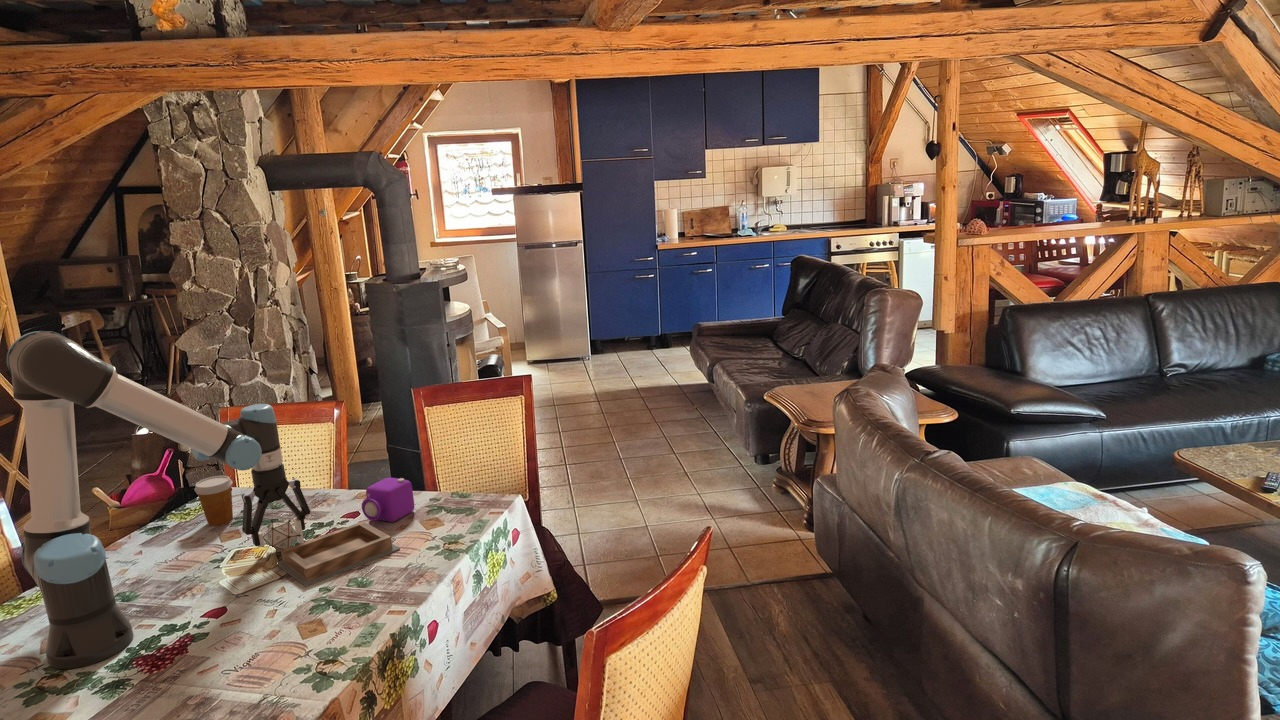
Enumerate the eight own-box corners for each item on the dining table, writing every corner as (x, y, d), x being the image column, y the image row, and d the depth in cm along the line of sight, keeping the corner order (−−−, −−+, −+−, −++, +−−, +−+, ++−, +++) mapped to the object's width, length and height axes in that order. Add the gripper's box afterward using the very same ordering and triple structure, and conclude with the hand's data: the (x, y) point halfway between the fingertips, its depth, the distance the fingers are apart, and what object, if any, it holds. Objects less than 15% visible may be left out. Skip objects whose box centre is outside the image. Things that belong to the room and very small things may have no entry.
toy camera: (357, 527, 227) (351, 492, 224) (386, 506, 239) (381, 473, 237) (392, 529, 223) (387, 494, 221) (419, 508, 236) (415, 475, 234)
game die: (292, 561, 217) (312, 527, 218) (274, 565, 209) (295, 529, 209) (265, 543, 219) (285, 509, 219) (246, 546, 210) (267, 510, 211)
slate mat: (305, 586, 195) (305, 585, 195) (275, 563, 208) (275, 562, 208) (400, 549, 211) (399, 548, 211) (366, 530, 224) (366, 529, 224)
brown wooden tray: (308, 582, 197) (305, 569, 196) (283, 563, 208) (280, 550, 207) (392, 549, 211) (390, 536, 210) (365, 533, 222) (363, 521, 221)
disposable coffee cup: (202, 519, 239) (194, 479, 236) (239, 511, 242) (231, 472, 240) (201, 531, 230) (192, 490, 227) (239, 523, 234) (231, 483, 231)
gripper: (226, 482, 200) (243, 569, 205) (316, 456, 214) (329, 538, 219) (216, 475, 205) (232, 560, 210) (303, 450, 219) (317, 530, 225)
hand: (282, 549), depth 215 cm, fingers closed on game die, 9 cm apart
